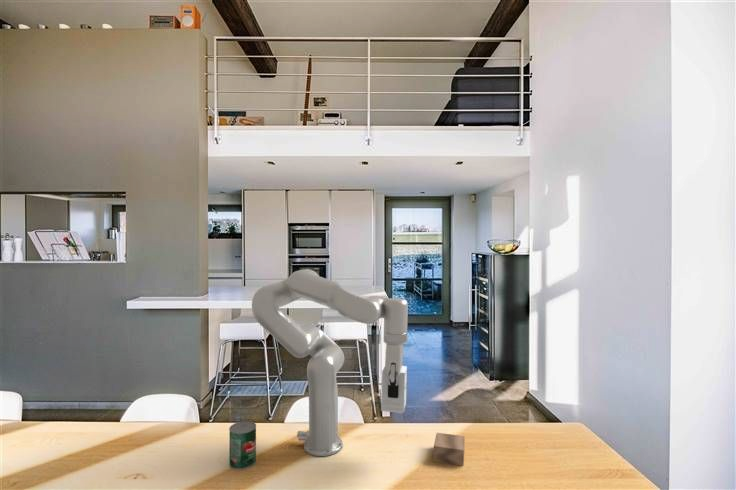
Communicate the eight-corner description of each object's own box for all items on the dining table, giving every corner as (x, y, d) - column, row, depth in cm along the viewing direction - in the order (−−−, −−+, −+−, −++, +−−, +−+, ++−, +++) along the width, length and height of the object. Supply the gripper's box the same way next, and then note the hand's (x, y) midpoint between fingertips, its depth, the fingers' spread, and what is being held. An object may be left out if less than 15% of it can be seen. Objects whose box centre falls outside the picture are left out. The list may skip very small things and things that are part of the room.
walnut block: (433, 462, 122) (433, 445, 122) (436, 447, 131) (436, 432, 131) (463, 466, 120) (463, 450, 120) (464, 451, 128) (464, 436, 128)
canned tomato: (254, 468, 118) (254, 431, 118) (227, 471, 117) (227, 433, 117) (257, 454, 126) (257, 420, 126) (231, 456, 125) (231, 421, 125)
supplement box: (404, 413, 122) (405, 373, 121) (380, 411, 123) (381, 371, 123) (406, 404, 129) (407, 365, 129) (384, 402, 130) (385, 363, 130)
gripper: (386, 330, 135) (385, 382, 135) (380, 343, 118) (379, 402, 118) (408, 332, 134) (407, 383, 134) (405, 345, 117) (404, 404, 117)
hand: (394, 392), depth 126 cm, fingers closed on supplement box, 7 cm apart
